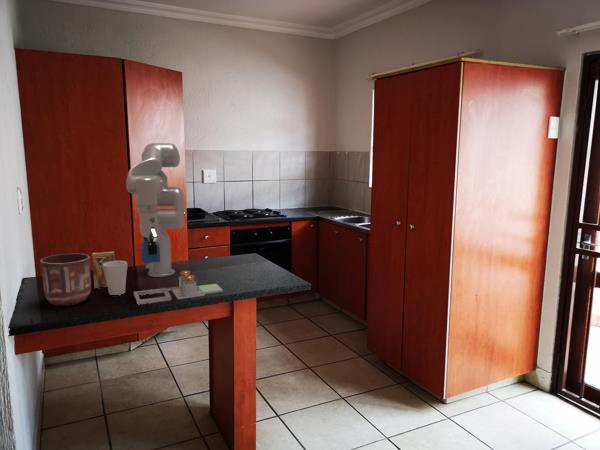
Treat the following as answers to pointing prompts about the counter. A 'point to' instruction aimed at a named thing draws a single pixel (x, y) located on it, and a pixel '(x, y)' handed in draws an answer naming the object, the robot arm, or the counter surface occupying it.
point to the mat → (210, 288)
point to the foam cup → (115, 276)
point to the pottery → (66, 278)
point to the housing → (179, 292)
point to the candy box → (100, 267)
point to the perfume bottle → (145, 252)
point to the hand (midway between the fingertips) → (149, 252)
